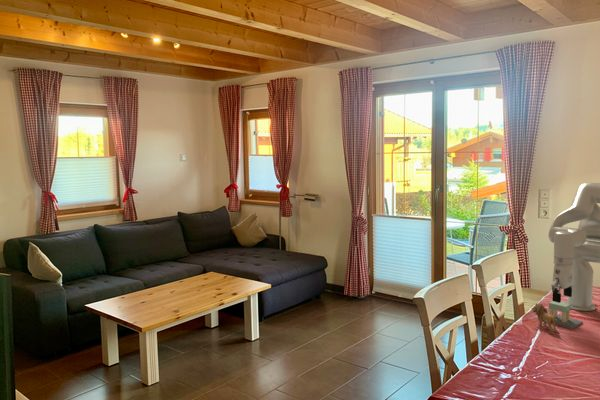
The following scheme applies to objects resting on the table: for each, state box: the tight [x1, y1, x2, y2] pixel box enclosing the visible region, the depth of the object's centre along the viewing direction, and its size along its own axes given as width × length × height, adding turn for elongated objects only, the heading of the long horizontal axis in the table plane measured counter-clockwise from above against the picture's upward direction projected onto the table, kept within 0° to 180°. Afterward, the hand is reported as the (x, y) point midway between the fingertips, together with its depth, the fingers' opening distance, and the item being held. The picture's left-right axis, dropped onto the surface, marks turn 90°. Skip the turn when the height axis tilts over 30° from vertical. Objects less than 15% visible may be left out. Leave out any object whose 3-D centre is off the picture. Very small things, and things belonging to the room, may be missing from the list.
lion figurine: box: [531, 302, 560, 335], centre depth 199 cm, size 15×5×9 cm, turn 12°
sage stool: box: [548, 300, 572, 323], centre depth 206 cm, size 7×5×7 cm
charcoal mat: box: [538, 314, 584, 330], centre depth 206 cm, size 10×14×1 cm
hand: (562, 298), depth 206 cm, fingers open, 9 cm apart
